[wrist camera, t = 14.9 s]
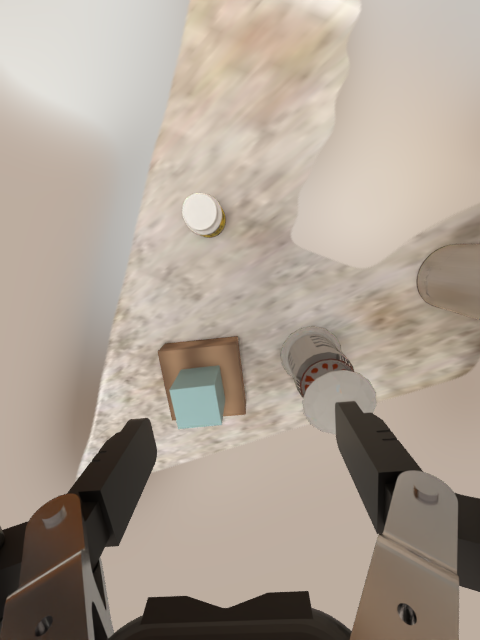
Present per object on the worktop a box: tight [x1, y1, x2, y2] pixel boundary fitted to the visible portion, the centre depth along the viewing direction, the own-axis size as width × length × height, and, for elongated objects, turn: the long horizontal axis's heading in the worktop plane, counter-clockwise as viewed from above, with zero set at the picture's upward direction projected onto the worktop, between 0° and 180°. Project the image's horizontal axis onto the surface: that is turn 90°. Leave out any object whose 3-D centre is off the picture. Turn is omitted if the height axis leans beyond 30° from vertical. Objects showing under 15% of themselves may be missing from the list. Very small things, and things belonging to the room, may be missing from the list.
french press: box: [281, 326, 376, 434], centre depth 30 cm, size 10×12×25 cm
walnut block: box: [158, 336, 246, 420], centre depth 42 cm, size 12×12×4 cm
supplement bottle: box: [182, 193, 226, 238], centre depth 33 cm, size 5×5×8 cm
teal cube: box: [169, 365, 225, 429], centre depth 37 cm, size 6×6×6 cm
